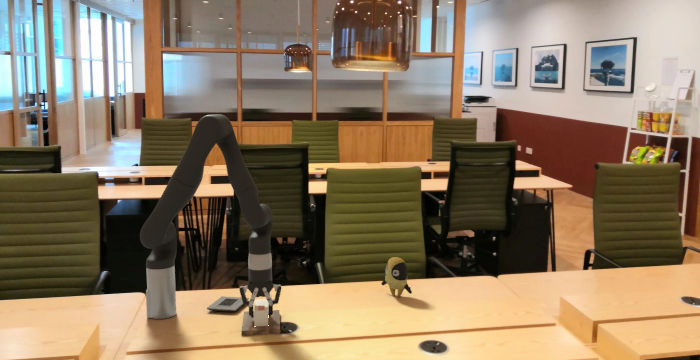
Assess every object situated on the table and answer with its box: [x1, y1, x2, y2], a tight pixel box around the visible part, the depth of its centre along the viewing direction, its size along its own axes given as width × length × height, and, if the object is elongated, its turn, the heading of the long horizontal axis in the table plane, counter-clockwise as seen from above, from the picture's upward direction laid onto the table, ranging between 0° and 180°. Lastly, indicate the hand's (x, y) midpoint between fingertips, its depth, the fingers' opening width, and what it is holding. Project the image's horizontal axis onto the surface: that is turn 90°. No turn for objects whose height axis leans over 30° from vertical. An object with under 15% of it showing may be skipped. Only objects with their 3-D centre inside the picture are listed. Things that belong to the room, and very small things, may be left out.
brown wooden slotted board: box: [241, 309, 281, 336], centre depth 198 cm, size 12×18×2 cm, turn 7°
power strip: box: [253, 298, 269, 327], centre depth 197 cm, size 4×12×7 cm, turn 8°
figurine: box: [381, 256, 413, 298], centre depth 226 cm, size 8×16×15 cm, turn 42°
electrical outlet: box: [206, 296, 250, 313], centre depth 215 cm, size 13×10×2 cm
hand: (261, 316), depth 197 cm, fingers open, 5 cm apart
